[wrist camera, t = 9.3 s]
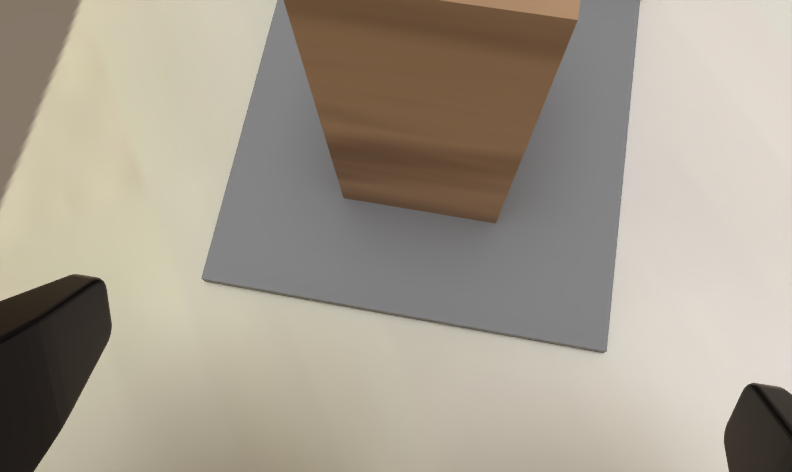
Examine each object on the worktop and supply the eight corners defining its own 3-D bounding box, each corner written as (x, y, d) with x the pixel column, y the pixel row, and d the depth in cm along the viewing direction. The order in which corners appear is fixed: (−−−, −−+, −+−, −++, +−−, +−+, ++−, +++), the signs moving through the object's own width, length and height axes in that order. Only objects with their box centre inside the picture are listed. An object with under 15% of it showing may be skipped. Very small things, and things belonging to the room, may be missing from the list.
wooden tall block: (495, 223, 23) (586, -2, 11) (343, 198, 24) (269, -46, 11) (519, 62, 25) (620, -284, 13) (377, 41, 25) (345, -313, 13)
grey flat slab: (603, 352, 22) (613, 348, 21) (205, 281, 23) (193, 273, 22) (640, -30, 26) (650, -51, 25) (302, -76, 27) (296, -99, 26)
